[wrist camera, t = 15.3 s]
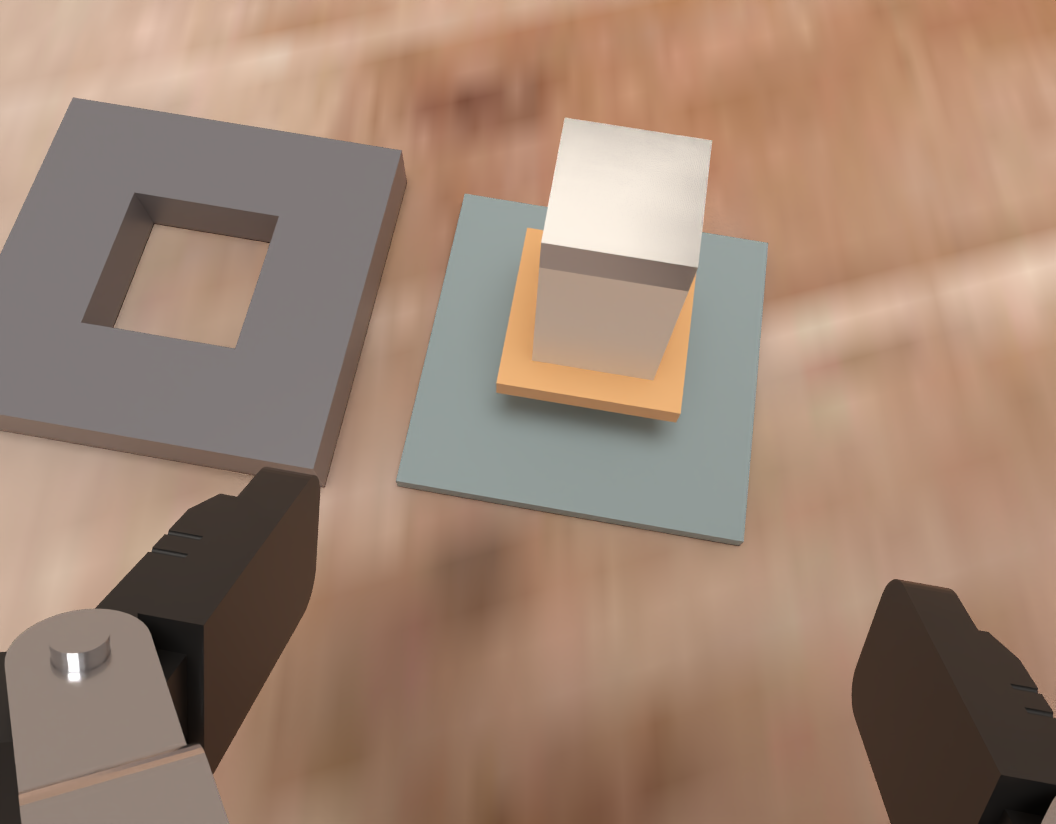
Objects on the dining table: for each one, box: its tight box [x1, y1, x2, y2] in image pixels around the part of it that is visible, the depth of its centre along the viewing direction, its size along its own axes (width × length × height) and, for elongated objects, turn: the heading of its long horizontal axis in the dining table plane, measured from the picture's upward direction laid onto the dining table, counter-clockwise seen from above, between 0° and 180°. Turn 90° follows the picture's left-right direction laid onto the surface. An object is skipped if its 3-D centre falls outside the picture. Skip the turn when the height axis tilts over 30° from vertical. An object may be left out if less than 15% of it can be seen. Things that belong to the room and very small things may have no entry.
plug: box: [496, 118, 712, 423], centre depth 28 cm, size 6×6×10 cm
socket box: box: [0, 98, 407, 487], centre depth 32 cm, size 13×13×2 cm
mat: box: [396, 194, 768, 546], centre depth 33 cm, size 12×12×1 cm
